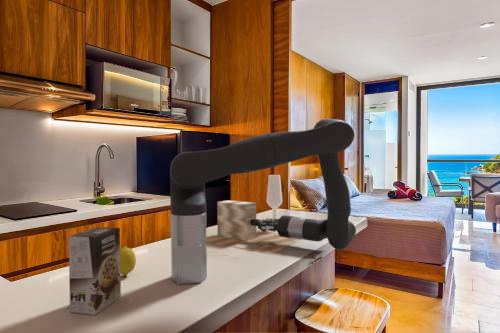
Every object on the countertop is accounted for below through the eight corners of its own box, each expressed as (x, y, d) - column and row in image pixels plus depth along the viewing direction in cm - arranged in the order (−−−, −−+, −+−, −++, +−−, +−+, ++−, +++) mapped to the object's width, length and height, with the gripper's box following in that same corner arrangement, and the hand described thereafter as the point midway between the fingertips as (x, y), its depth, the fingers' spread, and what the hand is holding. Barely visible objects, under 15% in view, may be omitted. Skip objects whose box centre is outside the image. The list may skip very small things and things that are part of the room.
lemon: (123, 281, 86) (122, 250, 85) (109, 277, 88) (109, 247, 88) (140, 274, 90) (139, 245, 90) (127, 270, 93) (126, 242, 93)
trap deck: (306, 241, 124) (306, 237, 124) (271, 259, 103) (271, 254, 103) (237, 230, 142) (237, 227, 142) (195, 244, 121) (195, 240, 121)
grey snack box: (96, 315, 67) (94, 236, 66) (68, 312, 68) (66, 235, 68) (122, 296, 76) (121, 227, 75) (97, 294, 77) (96, 226, 77)
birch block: (256, 237, 125) (256, 202, 125) (247, 240, 120) (247, 204, 120) (227, 232, 133) (226, 200, 132) (217, 235, 128) (217, 202, 127)
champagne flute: (274, 234, 135) (274, 175, 134) (263, 231, 140) (263, 175, 139) (285, 232, 139) (285, 175, 139) (274, 229, 144) (274, 174, 144)
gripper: (302, 213, 118) (261, 209, 128) (284, 219, 107) (241, 214, 117) (302, 234, 118) (261, 228, 128) (284, 242, 107) (241, 235, 117)
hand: (251, 222), depth 122 cm, fingers closed
